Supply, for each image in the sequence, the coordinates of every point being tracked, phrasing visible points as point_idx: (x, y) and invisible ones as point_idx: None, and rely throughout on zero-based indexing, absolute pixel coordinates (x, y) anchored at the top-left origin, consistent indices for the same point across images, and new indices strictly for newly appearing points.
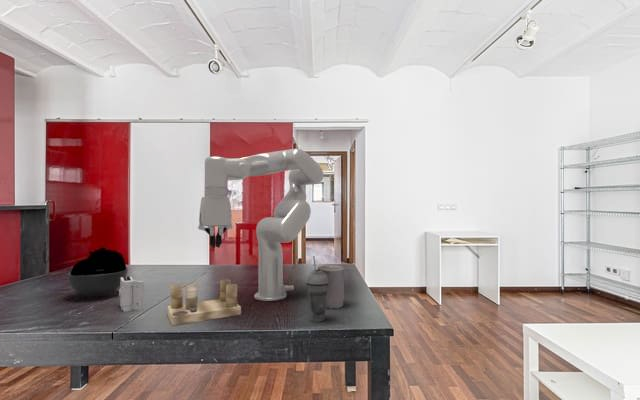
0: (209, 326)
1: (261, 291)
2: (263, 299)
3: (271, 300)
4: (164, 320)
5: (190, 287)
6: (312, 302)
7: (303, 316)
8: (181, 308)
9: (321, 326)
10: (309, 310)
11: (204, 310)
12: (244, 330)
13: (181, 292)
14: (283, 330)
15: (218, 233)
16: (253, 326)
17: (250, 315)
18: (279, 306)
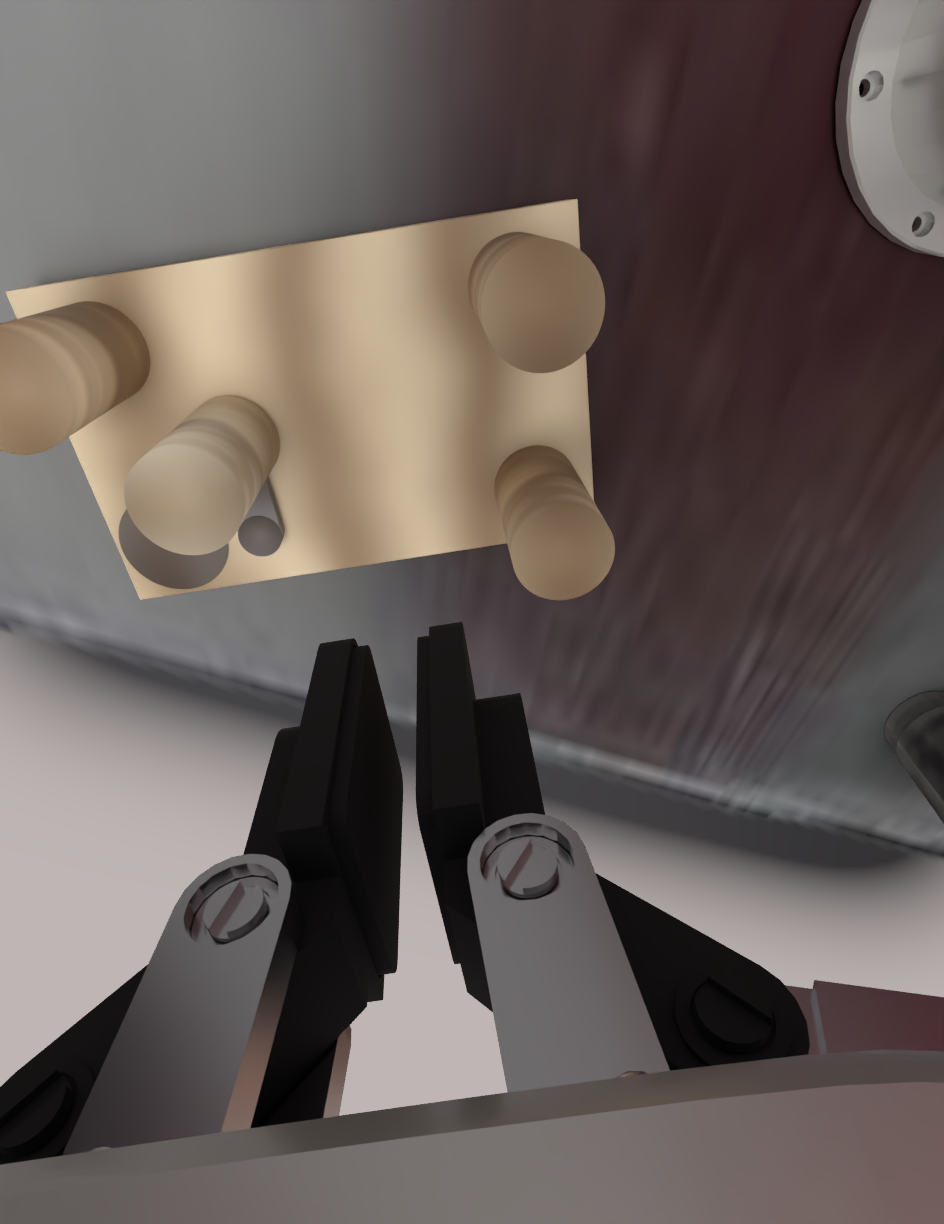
0: (377, 649)
1: (927, 131)
2: (872, 217)
3: (924, 252)
4: (73, 453)
5: (182, 553)
6: (940, 818)
7: (894, 661)
8: (155, 415)
9: (873, 797)
10: (914, 751)
11: (339, 526)
12: (541, 746)
13: (95, 413)
14: (702, 791)
15: (482, 1002)
16: (595, 714)
17: (635, 547)
18: (893, 422)
